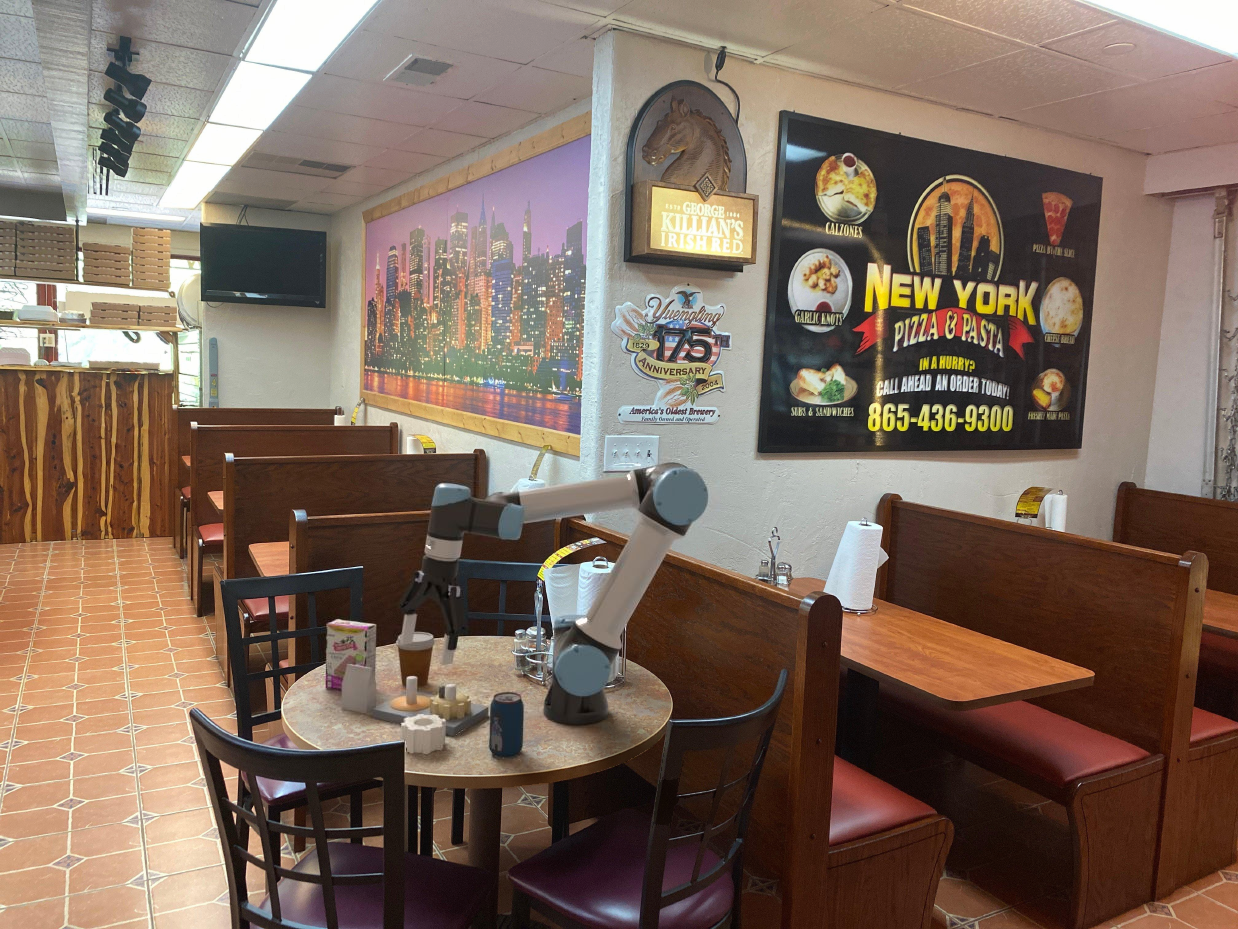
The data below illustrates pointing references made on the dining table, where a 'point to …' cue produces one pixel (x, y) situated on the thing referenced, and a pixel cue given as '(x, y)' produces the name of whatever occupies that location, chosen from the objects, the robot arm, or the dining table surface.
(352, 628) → the candy bar box
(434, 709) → the gear board
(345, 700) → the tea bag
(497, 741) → the soda can
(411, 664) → the disposable coffee cup
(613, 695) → the dining table surface
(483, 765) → the dining table surface
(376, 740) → the dining table surface
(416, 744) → the loose gear
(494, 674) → the dining table surface
